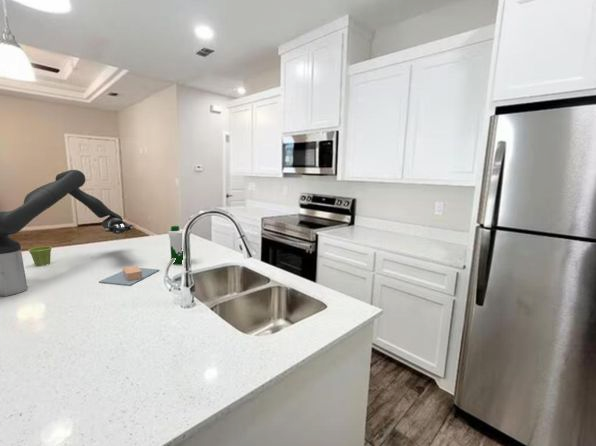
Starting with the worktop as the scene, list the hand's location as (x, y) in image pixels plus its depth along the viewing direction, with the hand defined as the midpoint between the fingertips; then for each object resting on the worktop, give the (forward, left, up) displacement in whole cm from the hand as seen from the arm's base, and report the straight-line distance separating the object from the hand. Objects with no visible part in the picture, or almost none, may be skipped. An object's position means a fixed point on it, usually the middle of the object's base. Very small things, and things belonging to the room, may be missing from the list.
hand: (122, 230), depth 149 cm
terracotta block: (-7, -9, -17) cm, 21 cm away
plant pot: (-5, +45, -20) cm, 50 cm away
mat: (-9, -11, -20) cm, 24 cm away
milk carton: (+15, -22, -20) cm, 33 cm away
